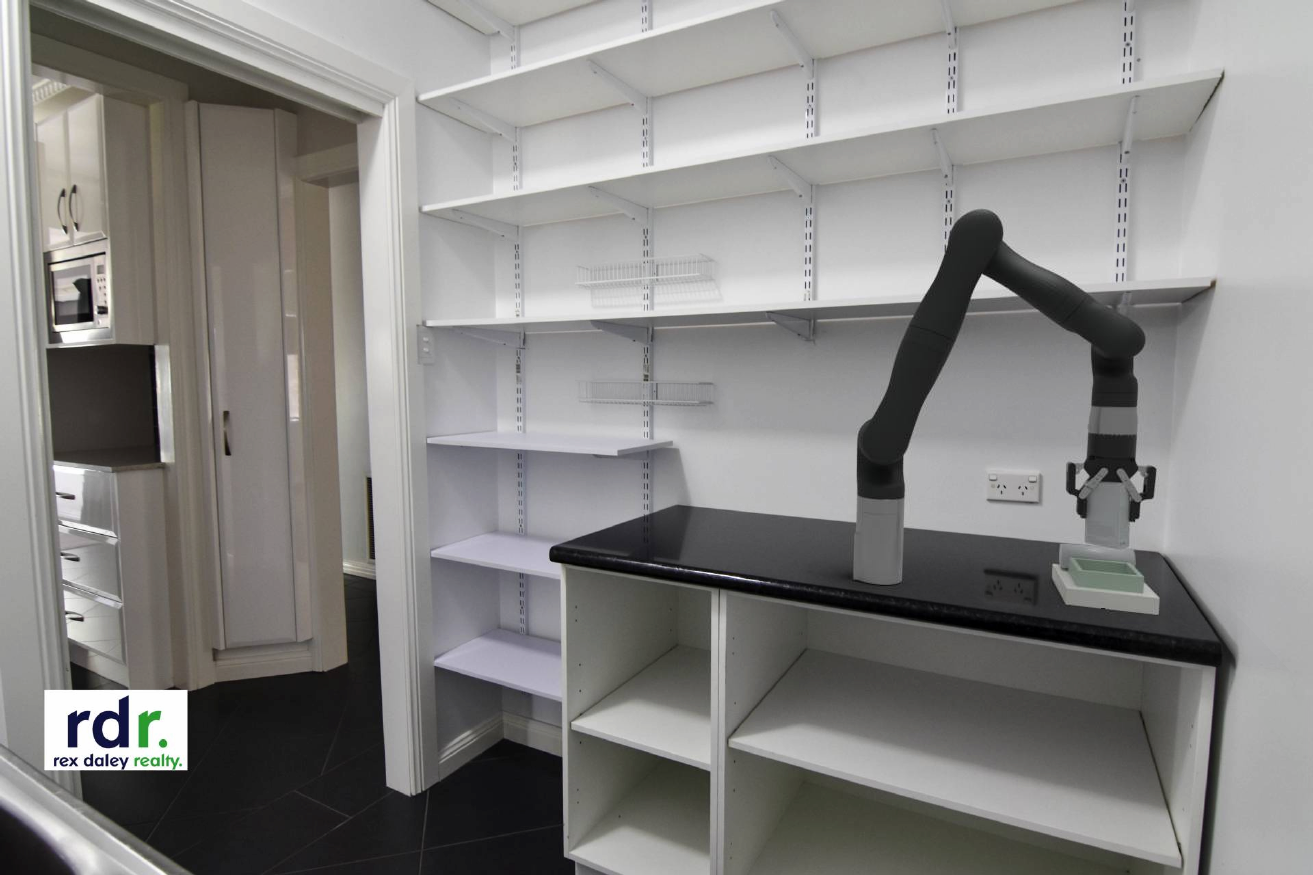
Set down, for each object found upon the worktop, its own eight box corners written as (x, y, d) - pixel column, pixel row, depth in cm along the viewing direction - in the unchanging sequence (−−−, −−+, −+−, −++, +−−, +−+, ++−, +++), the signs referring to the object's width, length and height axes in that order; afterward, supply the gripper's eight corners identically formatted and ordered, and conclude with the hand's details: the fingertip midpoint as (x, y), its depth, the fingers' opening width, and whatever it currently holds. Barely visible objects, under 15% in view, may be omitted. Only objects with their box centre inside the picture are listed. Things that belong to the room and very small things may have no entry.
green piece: (1077, 586, 125) (1078, 570, 124) (1068, 572, 134) (1069, 557, 134) (1143, 593, 121) (1144, 577, 120) (1129, 578, 130) (1130, 562, 130)
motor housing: (1065, 604, 124) (1068, 561, 123) (1051, 577, 140) (1053, 539, 140) (1158, 614, 118) (1161, 570, 118) (1132, 586, 135) (1135, 546, 134)
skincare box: (1129, 547, 125) (1134, 482, 124) (1117, 550, 123) (1121, 484, 122) (1094, 540, 131) (1098, 477, 130) (1081, 543, 128) (1085, 479, 127)
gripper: (1070, 431, 124) (1065, 520, 126) (1165, 434, 119) (1159, 527, 120) (1064, 428, 131) (1059, 513, 133) (1153, 431, 126) (1147, 518, 127)
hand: (1107, 519), depth 126 cm, fingers closed on skincare box, 7 cm apart
